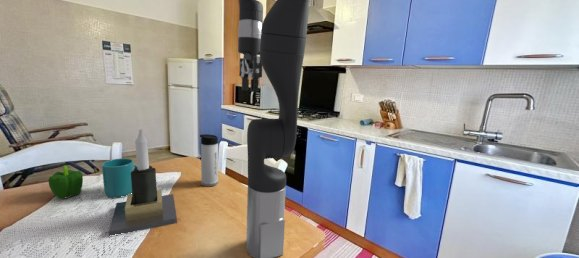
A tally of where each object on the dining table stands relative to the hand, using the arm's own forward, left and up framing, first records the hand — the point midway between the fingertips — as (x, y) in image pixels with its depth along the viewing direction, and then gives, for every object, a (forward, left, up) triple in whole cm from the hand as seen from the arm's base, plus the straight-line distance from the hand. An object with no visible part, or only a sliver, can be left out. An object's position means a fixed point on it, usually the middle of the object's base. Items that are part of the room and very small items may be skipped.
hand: (249, 91), depth 78 cm
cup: (+23, +38, -38) cm, 59 cm away
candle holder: (+3, +31, -38) cm, 49 cm away
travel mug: (+19, +9, -38) cm, 44 cm away
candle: (+3, +31, -37) cm, 48 cm away
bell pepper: (+26, +54, -38) cm, 71 cm away
